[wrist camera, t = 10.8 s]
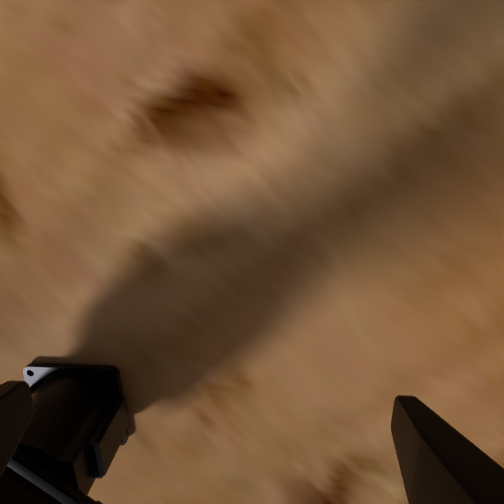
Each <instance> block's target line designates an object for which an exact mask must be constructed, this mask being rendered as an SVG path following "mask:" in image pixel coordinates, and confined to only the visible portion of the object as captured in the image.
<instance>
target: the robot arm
mask: <svg viewBox="0 0 504 504" xmlns="http://www.w3.org/2000/svg"><path fill="white" fill-rule="evenodd" d="M31 370H32V371H33V372H32V371H31ZM109 373H111V374H112V375H110V374H109ZM23 374H24V378H25V381H7V382H5V383H3V384H1V385H0V504H103V503H101V502H100V501H95V500H93V499H92V498H91V497H89V496H88V493H89V491H90V489H91V487H92V485H93V483H94V481H95V479H96V478H102V477H103V476H104V475H105V474H106V472H107V470H108V468H109V466H110V464H111V462H112V460H113V458H114V456H115V454H116V452H117V450H118V448H119V446H120V445H124V444H125V443H126V442H127V440H128V437H129V435H128V427H129V420H128V413H127V406H126V399H125V397H124V396H123V395H122V388H121V381H120V374H119V371H118V369H117V368H116V367H114V366H97V365H69V364H41V363H31V364H28V365H27V366H26V367H25V368H24V370H23ZM391 431H392V436H393V441H394V445H395V449H396V453H397V457H398V461H399V466H400V470H401V474H402V478H403V482H404V486H405V490H406V494H407V498H408V502H409V504H504V468H502V467H501V466H500V465H499V464H498V463H496V462H495V461H494V460H493V459H491V458H490V457H489V456H488V455H486V454H485V453H484V452H483V451H482V450H480V449H479V448H478V447H477V446H475V445H474V444H473V443H472V442H471V441H469V440H468V439H467V438H466V437H464V436H463V435H462V434H461V433H459V432H458V431H457V430H456V429H455V428H453V427H452V426H451V425H450V424H448V423H447V422H446V421H445V420H443V419H442V418H441V417H440V416H439V415H437V414H436V413H435V412H434V411H432V410H431V409H430V408H429V407H427V406H426V405H425V404H424V403H423V402H421V401H420V400H419V399H418V398H416V397H414V396H405V395H398V396H397V397H396V398H395V400H394V407H393V413H392V420H391Z"/></svg>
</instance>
